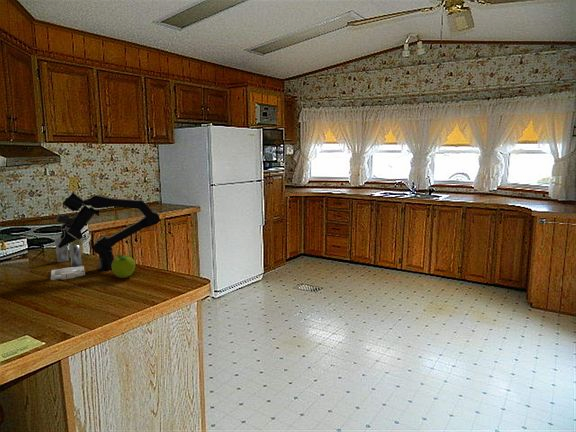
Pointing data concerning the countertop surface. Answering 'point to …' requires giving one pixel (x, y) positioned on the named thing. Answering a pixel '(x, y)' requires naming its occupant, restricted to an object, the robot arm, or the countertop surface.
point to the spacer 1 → (61, 251)
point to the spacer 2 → (75, 255)
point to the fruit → (123, 266)
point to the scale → (67, 273)
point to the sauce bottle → (78, 242)
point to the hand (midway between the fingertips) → (57, 246)
